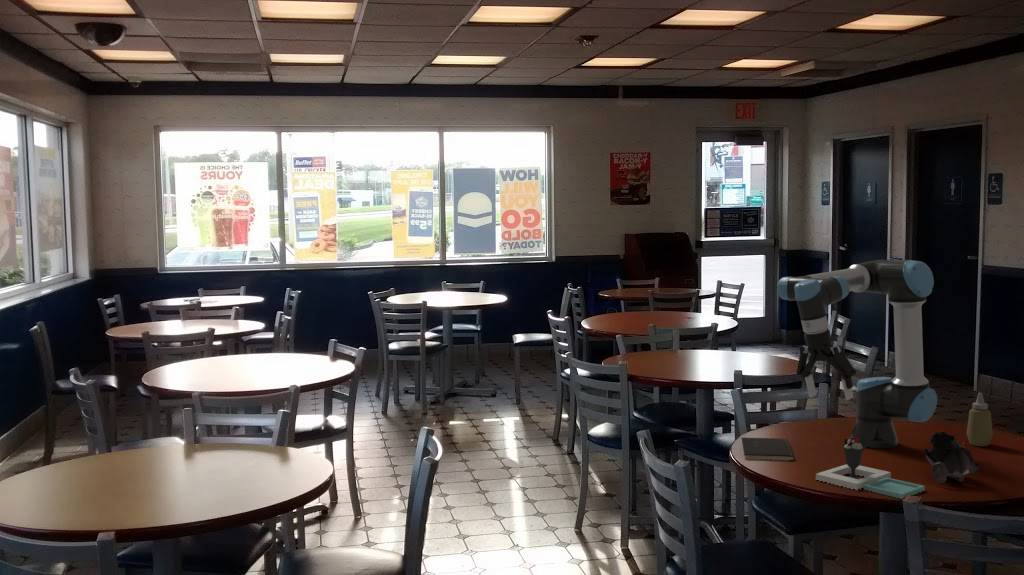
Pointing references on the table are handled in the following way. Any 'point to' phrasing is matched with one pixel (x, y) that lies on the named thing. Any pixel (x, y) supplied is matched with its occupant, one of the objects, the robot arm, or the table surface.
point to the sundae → (853, 454)
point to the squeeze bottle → (979, 423)
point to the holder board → (836, 478)
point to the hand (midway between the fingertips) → (831, 397)
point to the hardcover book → (767, 449)
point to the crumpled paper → (949, 458)
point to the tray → (894, 488)
